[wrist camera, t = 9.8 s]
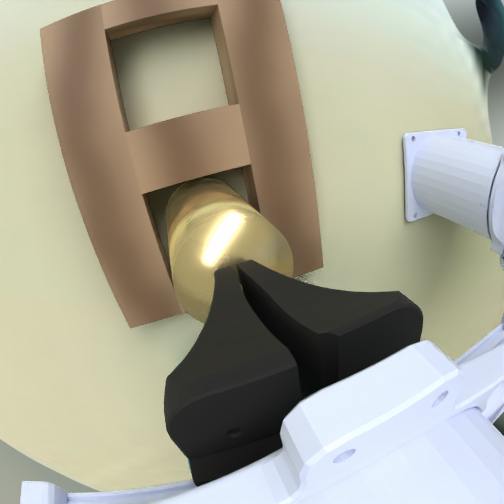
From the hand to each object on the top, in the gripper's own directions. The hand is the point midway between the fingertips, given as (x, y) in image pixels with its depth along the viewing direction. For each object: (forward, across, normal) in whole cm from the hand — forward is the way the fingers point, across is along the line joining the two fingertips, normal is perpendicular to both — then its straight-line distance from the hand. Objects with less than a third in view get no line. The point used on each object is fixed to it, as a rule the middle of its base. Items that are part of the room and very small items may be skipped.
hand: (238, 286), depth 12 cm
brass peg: (+9, 0, 0) cm, 9 cm away
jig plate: (+9, 0, -5) cm, 11 cm away
